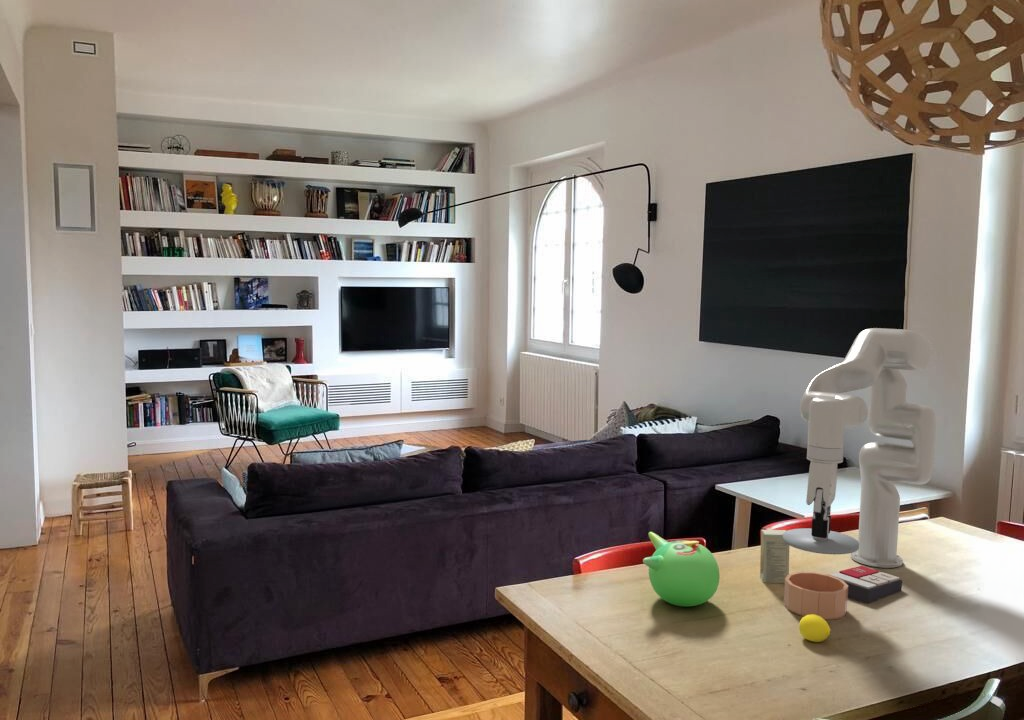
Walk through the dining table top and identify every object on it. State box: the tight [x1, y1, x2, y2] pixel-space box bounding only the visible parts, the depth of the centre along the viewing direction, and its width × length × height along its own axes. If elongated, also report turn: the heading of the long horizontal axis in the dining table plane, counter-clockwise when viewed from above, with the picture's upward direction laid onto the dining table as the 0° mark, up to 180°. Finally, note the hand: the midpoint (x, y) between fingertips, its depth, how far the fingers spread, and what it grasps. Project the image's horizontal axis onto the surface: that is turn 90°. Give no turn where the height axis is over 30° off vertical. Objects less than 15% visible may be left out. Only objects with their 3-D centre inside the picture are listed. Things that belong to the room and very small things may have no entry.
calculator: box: [829, 565, 903, 605], centre depth 198 cm, size 11×4×15 cm
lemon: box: [798, 614, 832, 643], centre depth 169 cm, size 7×5×5 cm
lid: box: [783, 517, 859, 555], centre depth 184 cm, size 16×16×6 cm
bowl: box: [783, 571, 849, 621], centre depth 186 cm, size 13×13×6 cm
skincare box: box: [759, 529, 790, 584], centre depth 203 cm, size 6×4×12 cm
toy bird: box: [642, 531, 721, 608], centre depth 188 cm, size 18×17×15 cm
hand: (820, 533), depth 184 cm, fingers closed on lid, 3 cm apart
